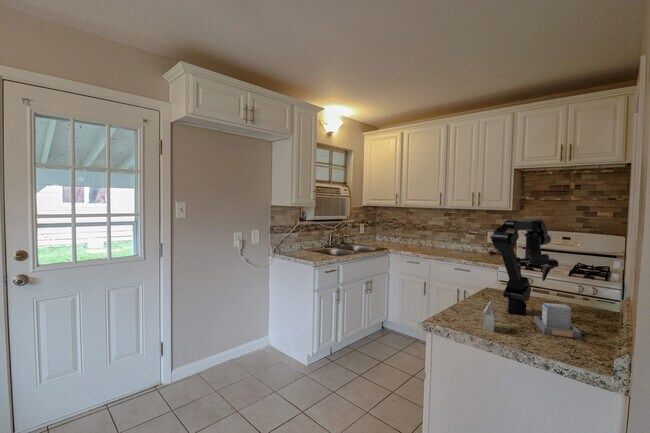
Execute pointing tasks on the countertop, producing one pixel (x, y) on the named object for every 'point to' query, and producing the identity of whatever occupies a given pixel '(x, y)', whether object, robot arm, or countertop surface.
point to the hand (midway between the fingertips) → (531, 279)
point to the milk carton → (489, 318)
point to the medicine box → (556, 316)
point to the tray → (557, 330)
